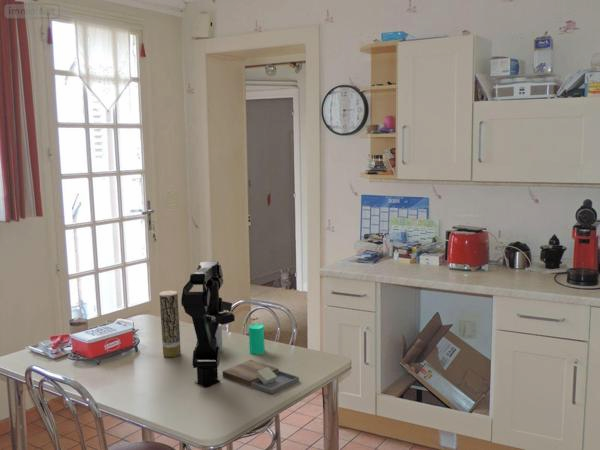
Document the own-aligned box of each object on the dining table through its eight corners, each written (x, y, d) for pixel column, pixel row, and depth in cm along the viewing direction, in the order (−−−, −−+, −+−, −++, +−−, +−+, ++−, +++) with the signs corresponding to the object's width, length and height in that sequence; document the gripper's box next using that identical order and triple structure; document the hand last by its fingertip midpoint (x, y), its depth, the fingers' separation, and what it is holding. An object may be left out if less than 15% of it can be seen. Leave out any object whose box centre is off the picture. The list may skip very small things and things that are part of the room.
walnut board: (250, 386, 214) (249, 381, 214) (222, 376, 223) (222, 371, 223) (278, 373, 224) (278, 368, 224) (251, 364, 233) (250, 359, 233)
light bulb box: (199, 346, 255) (198, 320, 253) (215, 343, 258) (214, 318, 256) (206, 354, 245) (205, 328, 243) (223, 351, 248) (222, 325, 246)
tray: (271, 394, 207) (271, 389, 207) (251, 386, 214) (250, 382, 214) (299, 381, 217) (298, 377, 217) (278, 374, 224) (278, 370, 224)
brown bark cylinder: (176, 358, 242) (173, 295, 238) (160, 357, 243) (156, 294, 239) (183, 352, 248) (180, 290, 244) (167, 351, 250) (163, 290, 246)
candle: (265, 349, 249) (264, 320, 248) (263, 354, 244) (262, 324, 242) (250, 348, 250) (249, 319, 248) (248, 354, 244) (247, 324, 242)
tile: (264, 384, 214) (266, 380, 213) (255, 375, 217) (257, 371, 216) (275, 380, 218) (277, 376, 217) (266, 371, 221) (268, 366, 220)
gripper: (245, 295, 226) (246, 336, 228) (211, 287, 238) (212, 326, 241) (221, 302, 218) (223, 345, 220) (187, 293, 230) (190, 334, 233)
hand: (212, 337), depth 229 cm, fingers closed
